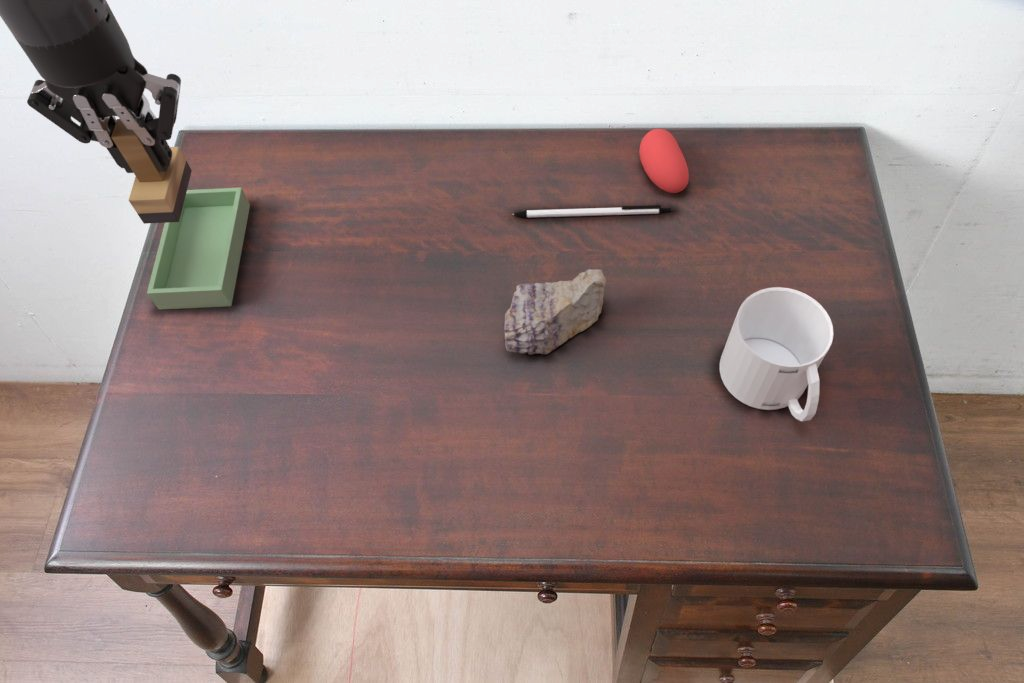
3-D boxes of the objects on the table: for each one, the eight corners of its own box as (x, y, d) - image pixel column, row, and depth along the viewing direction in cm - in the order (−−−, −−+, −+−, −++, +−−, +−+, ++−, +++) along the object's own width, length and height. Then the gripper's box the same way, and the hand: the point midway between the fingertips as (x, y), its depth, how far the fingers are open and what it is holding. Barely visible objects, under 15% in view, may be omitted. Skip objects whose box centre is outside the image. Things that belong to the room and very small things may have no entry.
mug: (708, 343, 86) (724, 294, 78) (789, 331, 87) (813, 281, 79) (741, 444, 80) (763, 401, 72) (828, 430, 80) (860, 386, 72)
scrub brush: (179, 222, 80) (137, 154, 72) (143, 223, 80) (98, 155, 72) (192, 170, 84) (153, 100, 75) (158, 172, 84) (116, 101, 75)
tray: (231, 306, 91) (221, 289, 88) (158, 309, 91) (146, 293, 88) (250, 205, 99) (241, 187, 96) (183, 208, 99) (172, 190, 96)
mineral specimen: (572, 273, 92) (574, 238, 87) (611, 314, 89) (616, 281, 83) (482, 328, 88) (478, 296, 83) (520, 373, 85) (518, 343, 80)
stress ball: (633, 202, 99) (659, 183, 93) (628, 133, 100) (653, 111, 94) (669, 205, 101) (697, 187, 95) (664, 138, 102) (690, 116, 96)
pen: (670, 214, 96) (672, 208, 95) (512, 219, 96) (512, 213, 95) (669, 209, 96) (671, 202, 95) (512, 213, 97) (512, 207, 96)
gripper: (-46, 47, 61) (69, 198, 76) (132, 38, 61) (213, 192, 76) (-15, -14, 65) (89, 141, 80) (153, -22, 65) (226, 135, 80)
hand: (149, 165), depth 78 cm, fingers closed on scrub brush, 2 cm apart
